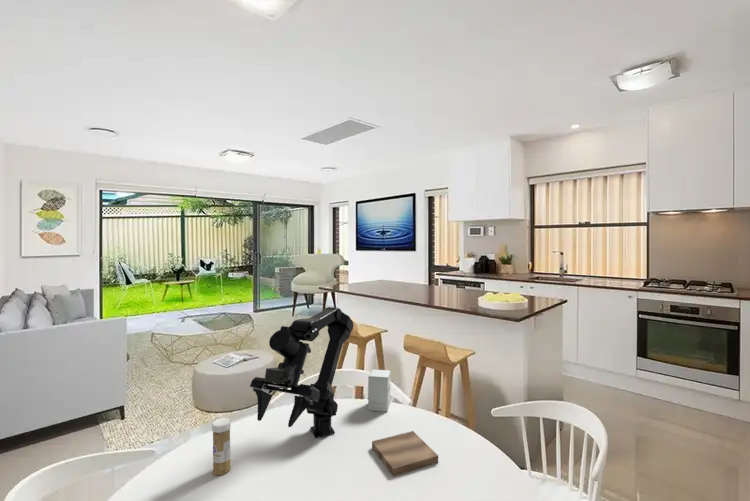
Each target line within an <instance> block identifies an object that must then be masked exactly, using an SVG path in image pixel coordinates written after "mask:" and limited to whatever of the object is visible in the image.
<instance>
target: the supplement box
mask: <svg viewBox="0 0 750 501" xmlns="http://www.w3.org/2000/svg"><path fill="white" fill-rule="evenodd" d="M367 378H368V379H367V380H368V382H367V383H368V384H367V386H368V388H367V392H368V394H367V395H368V397H367V400H368V401H367V402H368V403H367V409H368V411H373V412H375V411H376V412H383V413H385V412H386V413H387V412H388V410H389V408H390V404H391V370H387V369H386V370H385V369H371V371H370V373H369V374H368V377H367Z"/></svg>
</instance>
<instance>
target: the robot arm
mask: <svg viewBox="0 0 750 501" xmlns="http://www.w3.org/2000/svg"><path fill="white" fill-rule="evenodd" d="M325 327H327V334H328V337H329V341H328V344H327V348H326V351H325V354H324V356H323V361H322V365H321V368H320V371H319V374H318V377H317V380H316V382H314V383H310V385H309V384H303V383H301V384H299V381H300V377H301V375H304V373H305V370H303V368H304V365H305V361H306V358H307V355H308V354H311V353H312V349H311V347H310V344H309V343H306V342H313V341H314V340H316V339H317V338H318V337H319V336H320V331H321V330H322V329H324V328H325ZM353 329H354V321H353V320H352V318H351V317H350V316H349V315H348V314H346V313H345V312H343V311H342V309H341V308H338V307H331V306H329V307H325V308H324V310H321V311H320V312H318V313H316V314H315V315H313V316H311V317H307V318H299V319H295V320H293V322H292V323H291V324H290V325H289V326H284V325H282V326H280V329H279V330H277V331H275V332H274V333H273V334H272V335H271V336H270V338H269V342H268V344H269V347H270V349H272V351H275V353H277V354H278V355H280V356H281V357H283V361H282V362H279V364H278V365H277V367H269V368H268V367H267V368H266V369H265V373H264V377H259V376H255V377H254V378H253V379H251V382H250V384H249V387H250V388H252V392H255V394H256V397H257V421H258V422H260V421H262V420H263V418H264V416H265V413H266V411H267V409H268V407H269V404H270V403H271V399H272V397H273V394H271V393H272V392H280V393H285V394H291V395H294V404H293V407H292V410H291V413H290V416H289V419H288V424H287V427H288V428H292V427H293V425H294V424H295V423H296V422H297V420H298V419H299V417H300V416H301V415H302V414H303V412H304V411H305V410H306V413H307V415H308V414H311V415H312V416H313V418H312V419H313V426H310V430H311V433H312V435H313V438H315V439H317V438H322V437H325V436H330V435H334V434H335V433H336V432H335V430H334V428H333V426H332V418H333V417H335V416H336V415H337V412H338V409H339V408H338V407H339V404H338V403H337V402H336V401H335V399H334V397H335V394H334V393H335V392H334V390H333V382H334V381H333V380H334V378H335V374H336V370H337V367H338V363H339V361H340V360H339V359H340V355H341V352H342V349H343V345H344V343H345V342H346V341H347V340H348V339H349V338H350V336H351V334H352V331H353ZM304 341H305V342H304Z"/></svg>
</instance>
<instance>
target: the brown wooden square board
mask: <svg viewBox="0 0 750 501" xmlns="http://www.w3.org/2000/svg"><path fill="white" fill-rule="evenodd" d="M371 448H372V450H373V451H374V453H375V454H376V455H377V457H378V458H379V459H380V461H381V463H383V465H384V466H385V467H386V469H387V470H388V471H389V473H390V474H391V475H392V477H395V476H398V475H402V474H405V473H409V472H412V471H415V470H419V469H421V468H422V469H423V468H425V467H429V466H432V465H436V464H438V463H439V455H438V454H437V453H436V452H435V451H434V449H432V448H431V447H430V446H429V445H428V444H427V443H426V442H425V441H424V440H423V439H422V438H421V437H420V436H419V435H418V434H417V433H416V432H414V430H411V431H408V432H404V433H400V434H399V433H398V434H395V435H393V436H387V437H384V438H380V439H376V440H372V441H371Z"/></svg>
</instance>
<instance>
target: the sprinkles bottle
mask: <svg viewBox="0 0 750 501" xmlns="http://www.w3.org/2000/svg"><path fill="white" fill-rule="evenodd" d="M211 431H212V460H213V461H212V463H213V464H212V465H213V467H212V473H213V474H214V475H215V476H222V475H225V474H227V473H228V472H230V470H231V469H232V468H231V456H232V455H231V419H229V418H228V417H222V418H217V419H215V420H214V421H213V422H212V423H211Z"/></svg>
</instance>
